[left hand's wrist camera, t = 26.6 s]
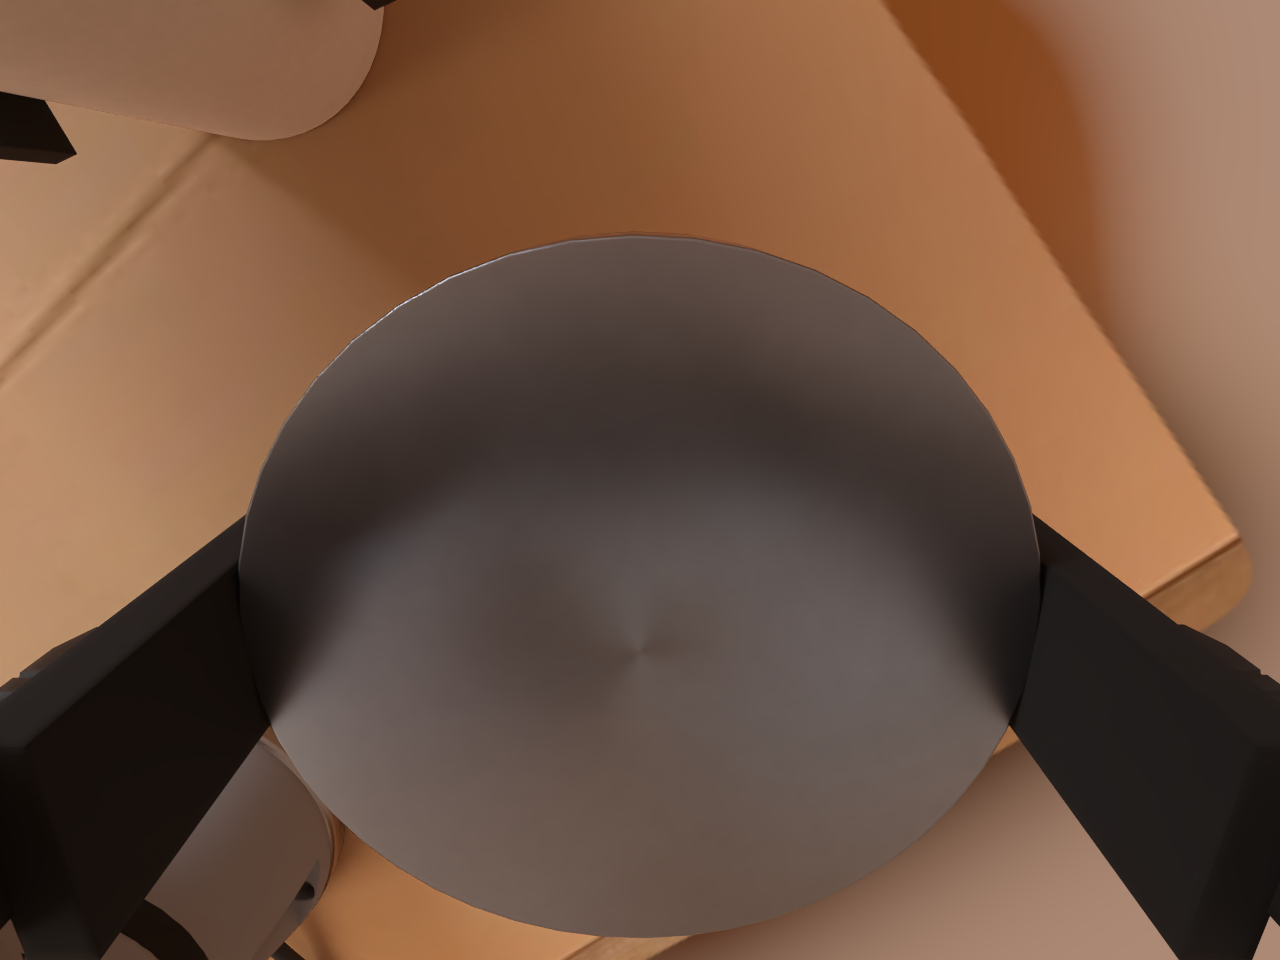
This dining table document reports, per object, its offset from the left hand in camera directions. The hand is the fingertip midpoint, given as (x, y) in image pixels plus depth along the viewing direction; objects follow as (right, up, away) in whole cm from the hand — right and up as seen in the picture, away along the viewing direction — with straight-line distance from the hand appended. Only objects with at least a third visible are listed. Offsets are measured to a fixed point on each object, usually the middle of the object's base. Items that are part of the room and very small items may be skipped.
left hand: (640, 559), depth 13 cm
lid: (0, -1, -2) cm, 3 cm away
